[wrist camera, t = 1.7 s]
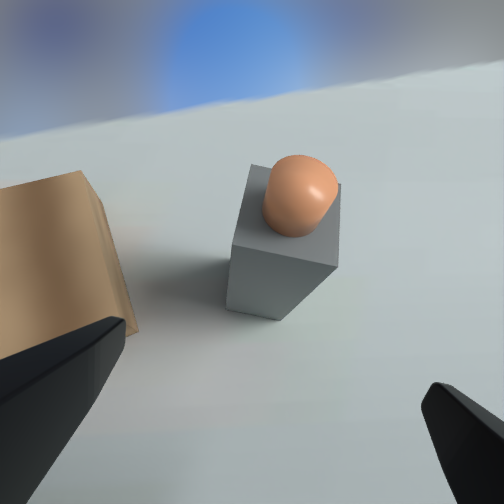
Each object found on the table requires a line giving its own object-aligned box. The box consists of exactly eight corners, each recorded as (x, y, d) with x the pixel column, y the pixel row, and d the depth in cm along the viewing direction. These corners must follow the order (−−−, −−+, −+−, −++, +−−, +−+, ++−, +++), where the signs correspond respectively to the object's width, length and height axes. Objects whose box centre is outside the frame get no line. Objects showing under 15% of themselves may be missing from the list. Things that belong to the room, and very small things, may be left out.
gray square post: (280, 320, 21) (361, 244, 9) (225, 309, 21) (234, 217, 9) (287, 269, 23) (360, 152, 11) (236, 258, 22) (256, 128, 11)
